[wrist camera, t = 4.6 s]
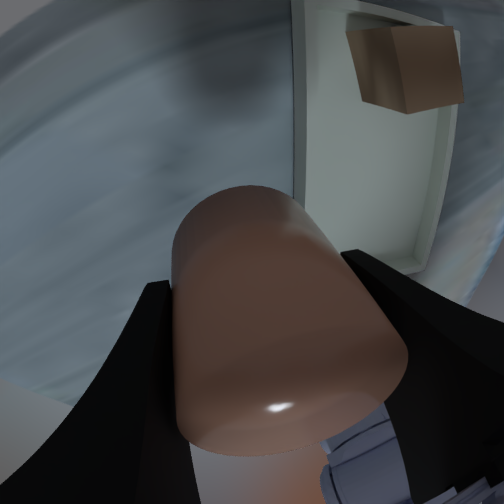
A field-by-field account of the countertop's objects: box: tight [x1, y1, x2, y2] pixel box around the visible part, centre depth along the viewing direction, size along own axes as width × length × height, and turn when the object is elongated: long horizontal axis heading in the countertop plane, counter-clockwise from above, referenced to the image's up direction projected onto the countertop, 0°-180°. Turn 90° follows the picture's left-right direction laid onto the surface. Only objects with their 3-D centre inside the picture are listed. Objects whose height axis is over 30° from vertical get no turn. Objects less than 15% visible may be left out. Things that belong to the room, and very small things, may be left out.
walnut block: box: [345, 26, 464, 115], centre depth 12 cm, size 4×4×4 cm
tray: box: [291, 0, 460, 275], centre depth 16 cm, size 17×10×2 cm, turn 2°
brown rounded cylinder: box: [171, 185, 408, 456], centre depth 8 cm, size 5×5×6 cm
